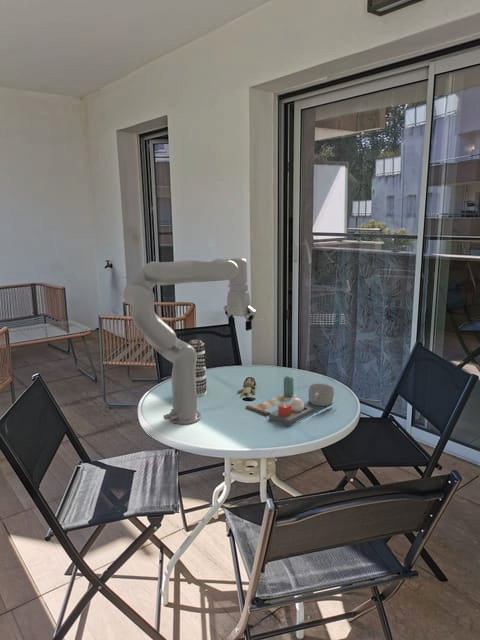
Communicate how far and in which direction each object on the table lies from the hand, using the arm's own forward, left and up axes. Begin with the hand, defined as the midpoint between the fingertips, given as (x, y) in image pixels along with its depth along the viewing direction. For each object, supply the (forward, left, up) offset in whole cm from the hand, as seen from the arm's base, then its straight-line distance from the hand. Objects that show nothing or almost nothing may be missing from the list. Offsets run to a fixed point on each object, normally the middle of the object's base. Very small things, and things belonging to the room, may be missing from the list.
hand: (240, 328), depth 201 cm
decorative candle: (-4, +24, -34) cm, 42 cm away
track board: (+10, -11, -34) cm, 37 cm away
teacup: (+21, -26, -34) cm, 48 cm away
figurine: (+11, +6, -34) cm, 36 cm away
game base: (+4, -25, -34) cm, 42 cm away
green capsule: (+19, -11, -33) cm, 39 cm away
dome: (+7, -25, -32) cm, 41 cm away
